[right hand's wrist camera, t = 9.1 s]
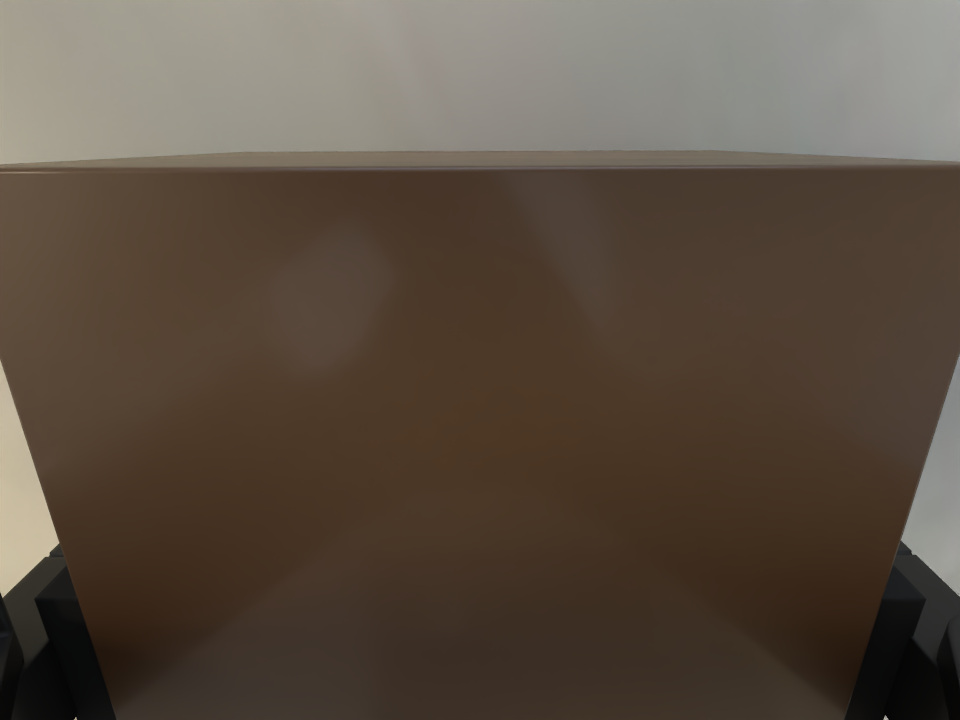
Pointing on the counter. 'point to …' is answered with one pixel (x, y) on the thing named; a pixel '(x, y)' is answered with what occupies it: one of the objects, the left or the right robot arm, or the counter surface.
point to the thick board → (480, 423)
